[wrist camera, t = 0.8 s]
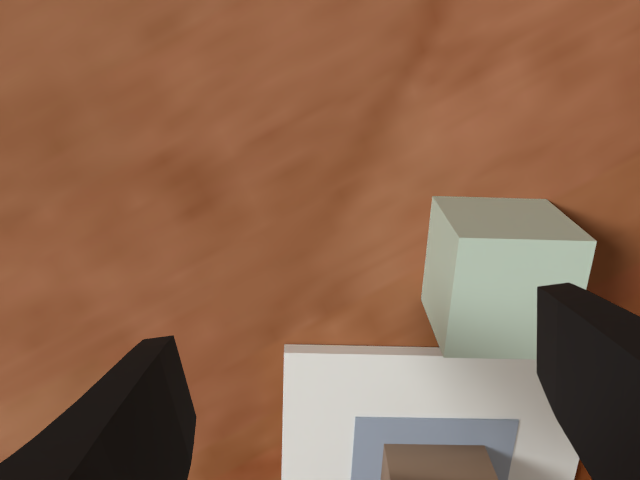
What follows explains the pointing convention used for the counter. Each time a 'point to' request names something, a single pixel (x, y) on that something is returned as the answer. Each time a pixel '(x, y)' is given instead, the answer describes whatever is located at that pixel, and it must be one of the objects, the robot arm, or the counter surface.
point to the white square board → (414, 411)
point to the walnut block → (436, 462)
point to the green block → (497, 272)
